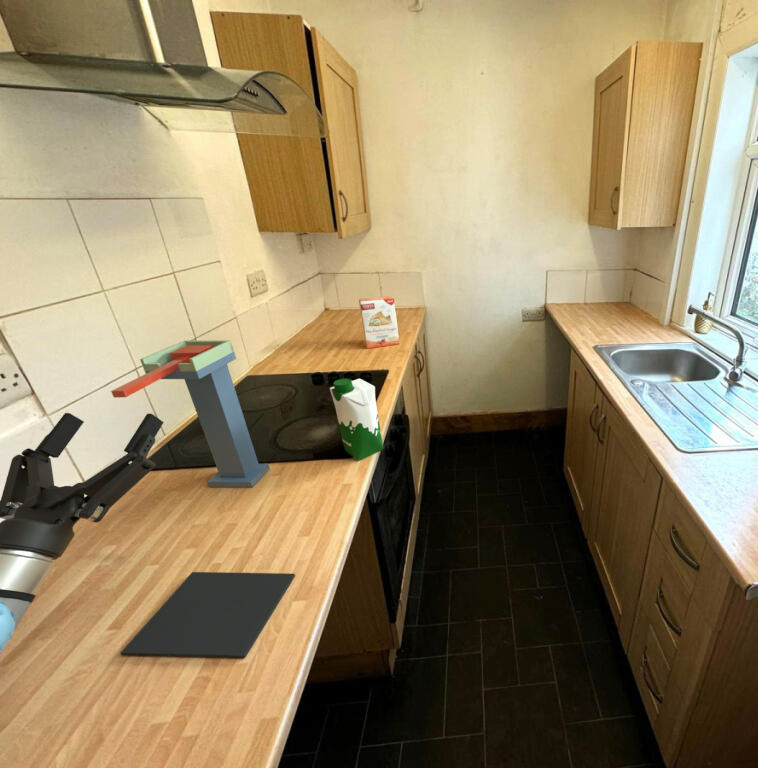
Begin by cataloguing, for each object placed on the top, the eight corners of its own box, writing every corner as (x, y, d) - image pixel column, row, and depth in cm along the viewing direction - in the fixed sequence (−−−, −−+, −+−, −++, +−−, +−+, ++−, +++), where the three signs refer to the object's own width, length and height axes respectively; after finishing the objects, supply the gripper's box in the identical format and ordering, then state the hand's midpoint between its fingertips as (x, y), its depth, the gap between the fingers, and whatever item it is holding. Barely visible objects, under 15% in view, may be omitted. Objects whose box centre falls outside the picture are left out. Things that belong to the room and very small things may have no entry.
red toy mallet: (102, 398, 67) (97, 386, 67) (189, 354, 86) (185, 345, 86) (137, 397, 68) (132, 386, 67) (216, 353, 87) (213, 344, 86)
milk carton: (339, 451, 107) (324, 379, 98) (371, 437, 113) (359, 369, 104) (356, 464, 101) (341, 390, 93) (389, 449, 107) (377, 378, 99)
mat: (121, 655, 59) (119, 652, 59) (193, 574, 72) (192, 571, 72) (245, 658, 58) (243, 655, 58) (295, 576, 71) (294, 573, 71)
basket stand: (196, 499, 90) (139, 359, 77) (229, 468, 100) (184, 340, 87) (241, 499, 90) (192, 358, 76) (270, 469, 100) (230, 340, 87)
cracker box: (367, 349, 179) (359, 301, 171) (365, 345, 184) (357, 298, 176) (400, 344, 184) (394, 297, 176) (397, 340, 189) (391, 295, 181)
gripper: (-38, 560, 58) (62, 428, 71) (133, 564, 57) (204, 429, 70) (-104, 546, 52) (18, 404, 65) (86, 550, 51) (173, 405, 64)
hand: (115, 417), depth 67 cm, fingers open, 13 cm apart
